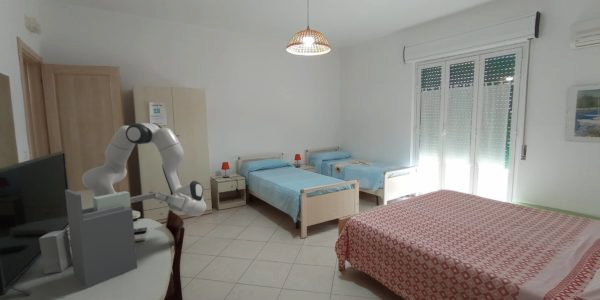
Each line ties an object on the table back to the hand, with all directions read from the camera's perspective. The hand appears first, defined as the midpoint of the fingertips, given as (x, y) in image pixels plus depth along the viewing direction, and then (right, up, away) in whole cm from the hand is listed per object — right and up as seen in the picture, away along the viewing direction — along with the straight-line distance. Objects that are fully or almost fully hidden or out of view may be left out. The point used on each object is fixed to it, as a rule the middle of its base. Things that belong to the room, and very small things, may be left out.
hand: (152, 193), depth 130 cm
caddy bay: (-12, -31, -13) cm, 35 cm away
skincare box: (-35, -31, -10) cm, 48 cm away
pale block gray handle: (-6, -4, -7) cm, 10 cm away
